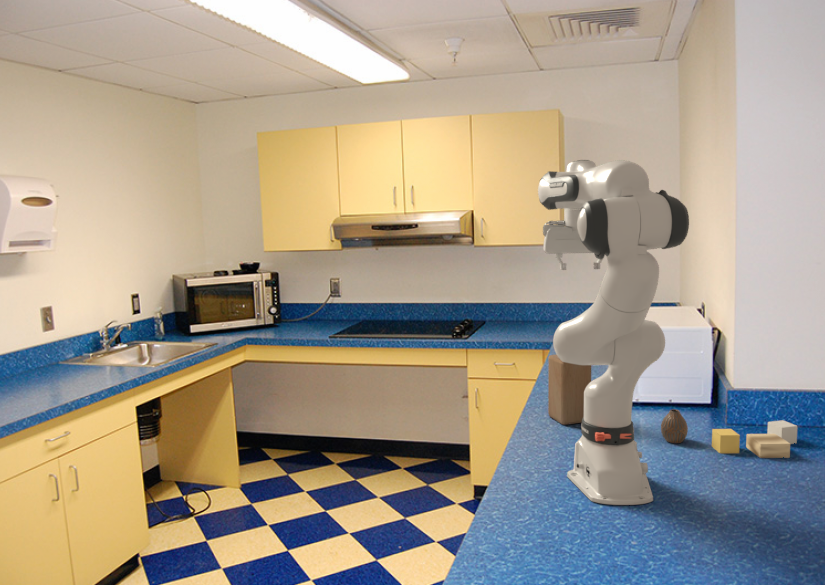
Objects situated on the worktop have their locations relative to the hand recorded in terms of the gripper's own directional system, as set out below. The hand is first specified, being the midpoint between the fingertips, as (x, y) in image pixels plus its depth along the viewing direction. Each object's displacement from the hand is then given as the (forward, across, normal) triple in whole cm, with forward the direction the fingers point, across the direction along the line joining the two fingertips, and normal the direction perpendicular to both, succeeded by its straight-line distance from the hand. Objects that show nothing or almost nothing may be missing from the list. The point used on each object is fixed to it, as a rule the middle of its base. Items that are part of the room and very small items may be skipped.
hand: (579, 269), depth 180 cm
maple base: (+48, +46, -16) cm, 69 cm away
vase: (+48, +25, -7) cm, 55 cm away
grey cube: (+48, +54, -8) cm, 73 cm away
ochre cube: (+48, +36, -14) cm, 62 cm away
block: (+48, 0, +13) cm, 50 cm away
